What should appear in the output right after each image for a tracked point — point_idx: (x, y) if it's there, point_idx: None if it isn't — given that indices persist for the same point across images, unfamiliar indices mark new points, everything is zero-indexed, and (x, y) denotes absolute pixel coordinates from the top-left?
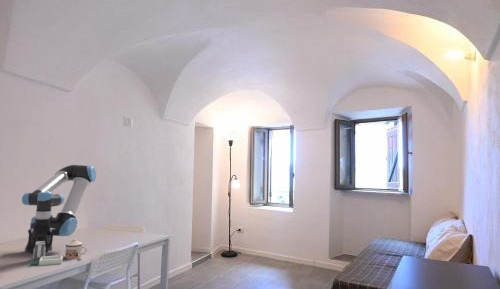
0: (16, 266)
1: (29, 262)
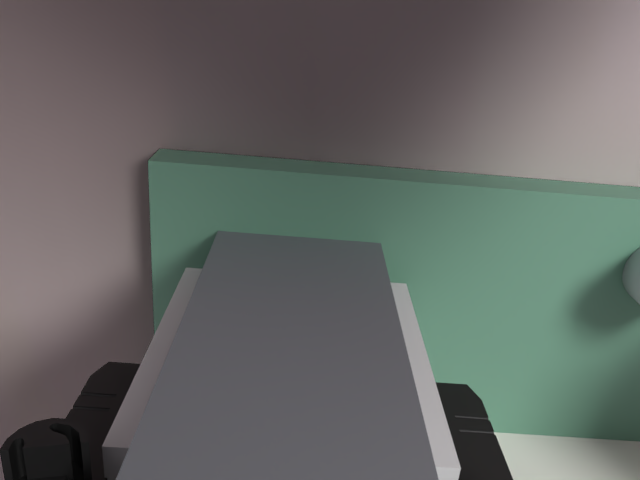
0: (6, 433)
1: None
